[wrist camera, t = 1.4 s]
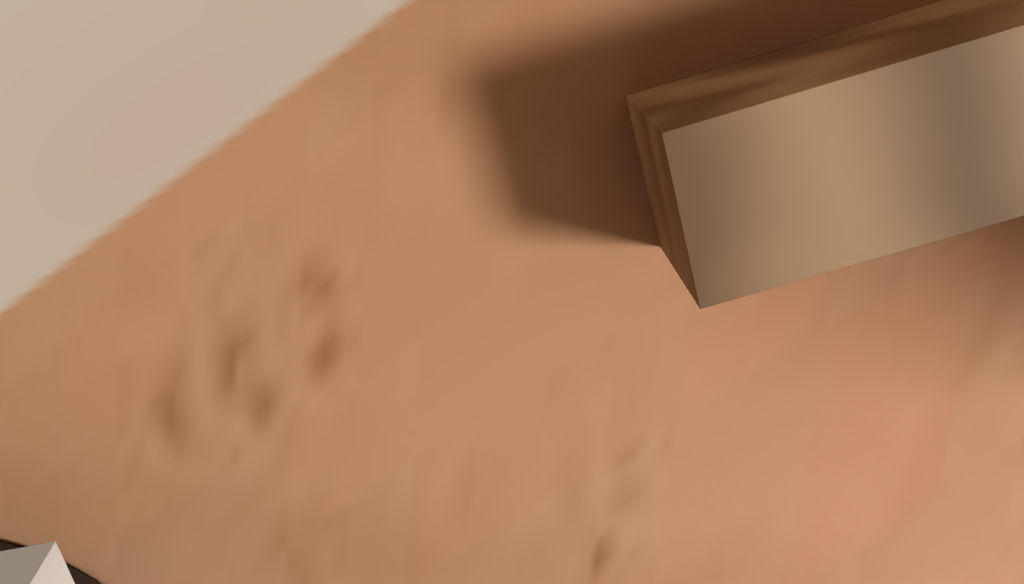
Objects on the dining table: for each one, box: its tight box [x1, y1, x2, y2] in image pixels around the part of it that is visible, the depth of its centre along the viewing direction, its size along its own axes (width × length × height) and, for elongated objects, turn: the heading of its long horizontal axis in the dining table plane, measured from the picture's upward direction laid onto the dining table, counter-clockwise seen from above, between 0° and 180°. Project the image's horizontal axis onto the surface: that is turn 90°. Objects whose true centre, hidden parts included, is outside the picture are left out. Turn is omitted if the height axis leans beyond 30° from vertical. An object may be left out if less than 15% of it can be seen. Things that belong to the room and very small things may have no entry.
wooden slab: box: [626, 0, 1024, 309], centre depth 24 cm, size 14×5×5 cm, turn 106°
